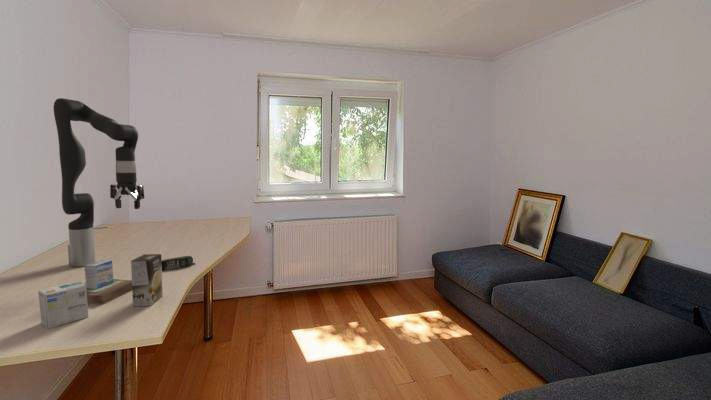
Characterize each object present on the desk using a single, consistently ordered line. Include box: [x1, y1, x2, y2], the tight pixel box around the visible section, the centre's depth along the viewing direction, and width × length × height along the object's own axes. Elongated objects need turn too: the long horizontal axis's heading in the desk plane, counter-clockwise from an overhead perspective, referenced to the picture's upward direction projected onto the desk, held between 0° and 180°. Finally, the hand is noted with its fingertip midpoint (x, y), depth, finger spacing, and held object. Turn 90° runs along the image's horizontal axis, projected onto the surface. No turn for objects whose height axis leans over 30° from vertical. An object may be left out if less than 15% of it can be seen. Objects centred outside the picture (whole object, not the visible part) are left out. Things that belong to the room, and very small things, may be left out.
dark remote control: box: [161, 255, 196, 271], centre depth 170 cm, size 5×3×15 cm
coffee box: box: [130, 253, 164, 307], centre depth 130 cm, size 9×6×16 cm
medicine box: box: [84, 259, 114, 289], centre depth 135 cm, size 8×4×9 cm, turn 172°
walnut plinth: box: [84, 278, 132, 305], centre depth 136 cm, size 16×16×3 cm
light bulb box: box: [37, 280, 89, 330], centre depth 114 cm, size 11×7×11 cm, turn 145°
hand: (127, 208), depth 160 cm, fingers open, 8 cm apart
